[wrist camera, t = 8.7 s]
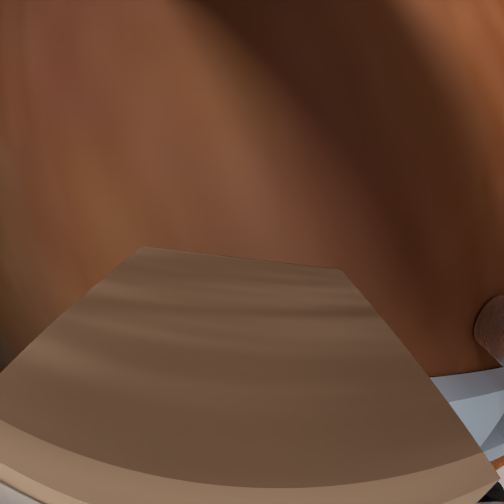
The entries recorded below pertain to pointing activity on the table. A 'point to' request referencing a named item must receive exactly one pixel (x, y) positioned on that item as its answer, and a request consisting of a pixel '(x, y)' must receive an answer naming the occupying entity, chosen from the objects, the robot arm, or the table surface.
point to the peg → (492, 328)
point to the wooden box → (229, 395)
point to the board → (478, 406)
